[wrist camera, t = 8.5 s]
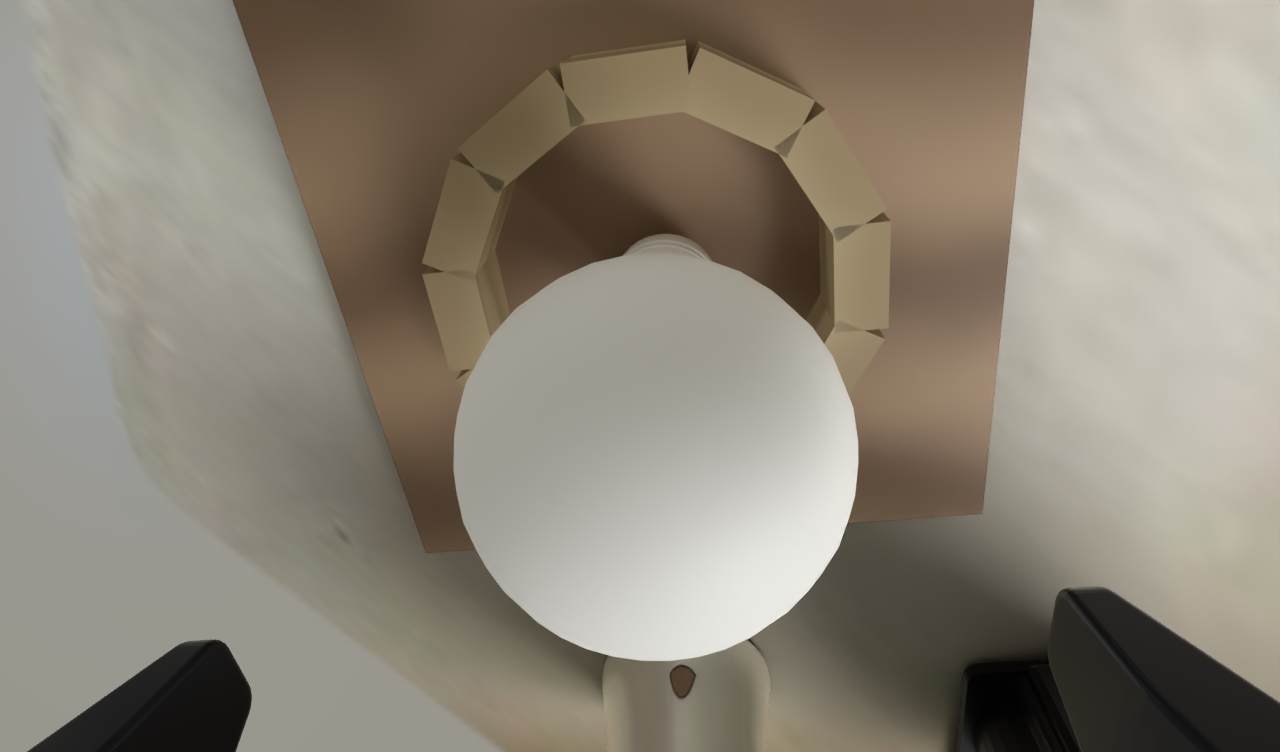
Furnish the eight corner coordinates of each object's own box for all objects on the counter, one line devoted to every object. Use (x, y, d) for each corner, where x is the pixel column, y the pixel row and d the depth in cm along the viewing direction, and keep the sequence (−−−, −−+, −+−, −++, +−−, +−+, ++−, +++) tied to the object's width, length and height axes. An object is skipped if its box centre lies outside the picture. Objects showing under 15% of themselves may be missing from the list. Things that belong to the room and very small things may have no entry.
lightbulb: (527, 348, 20) (375, 706, 10) (570, 118, 17) (413, 307, 7) (745, 400, 20) (802, 792, 10) (825, 184, 17) (1005, 450, 7)
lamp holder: (970, 493, 22) (1008, 561, 20) (435, 532, 24) (404, 599, 21) (1032, -199, 14) (1110, -241, 12) (235, -62, 16) (148, -71, 14)
